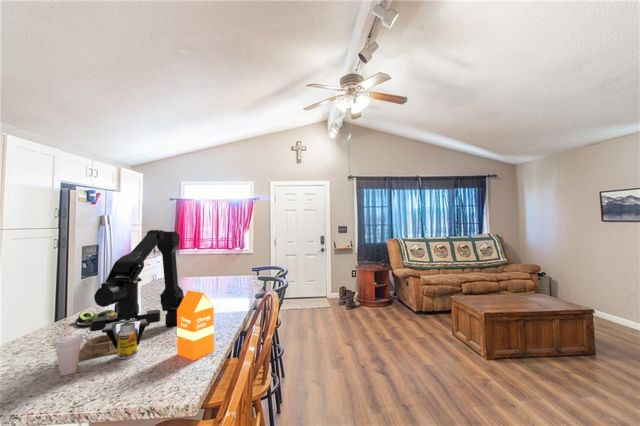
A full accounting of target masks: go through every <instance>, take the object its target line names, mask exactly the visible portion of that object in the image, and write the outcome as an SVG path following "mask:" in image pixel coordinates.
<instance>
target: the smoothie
mask: <svg viewBox="0 0 640 426" xmlns="http://www.w3.org/2000/svg"><path fill="white" fill-rule="evenodd" d="M83 340H84V338H83V335H82V334H80V333H79V334H78V333H77V334H69V322H66V323H65V336H62V337H59V338H57V339H55V340H54V342H53V343H54V344H53V345H54V346H55V350H56V356H57V361H58V362H57V363H58V370H59V374H60V376H67V375H71V374H73V373H75V372H77V370H78V364H79V360H78V359H79V352H80V350H81V347H82V346H81V345H82V341H83Z"/></svg>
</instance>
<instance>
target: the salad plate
mask: <svg viewBox="0 0 640 426" xmlns="http://www.w3.org/2000/svg"><path fill="white" fill-rule="evenodd" d="M104 316H109V319H113V318H117V313H115V312H114V310H113V309H107V310H106V309H105V310H103V311H101V312H100V313H95V312H94V311H92V310H84V311H81V312H80V313H79V314H78V317H77V318H76V320H75V324H76V326H77V327H78V328H90V324H91V322H92V321H93V320H94V319H95V318H97V317H104Z"/></svg>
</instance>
